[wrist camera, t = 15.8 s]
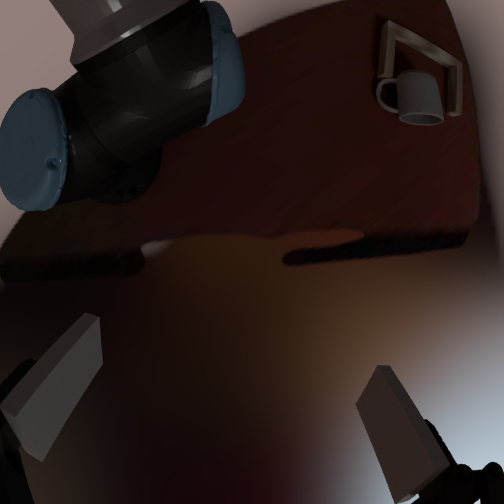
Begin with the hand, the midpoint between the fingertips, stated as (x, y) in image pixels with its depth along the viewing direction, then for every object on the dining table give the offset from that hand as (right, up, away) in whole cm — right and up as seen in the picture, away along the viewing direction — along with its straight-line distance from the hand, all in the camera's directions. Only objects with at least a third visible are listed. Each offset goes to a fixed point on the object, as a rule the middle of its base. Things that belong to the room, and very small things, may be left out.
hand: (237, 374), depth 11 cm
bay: (+31, +38, +23) cm, 54 cm away
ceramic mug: (+26, +30, +25) cm, 47 cm away
